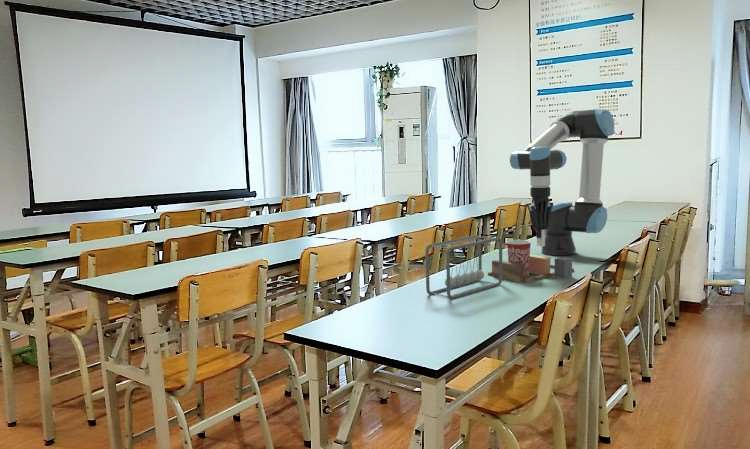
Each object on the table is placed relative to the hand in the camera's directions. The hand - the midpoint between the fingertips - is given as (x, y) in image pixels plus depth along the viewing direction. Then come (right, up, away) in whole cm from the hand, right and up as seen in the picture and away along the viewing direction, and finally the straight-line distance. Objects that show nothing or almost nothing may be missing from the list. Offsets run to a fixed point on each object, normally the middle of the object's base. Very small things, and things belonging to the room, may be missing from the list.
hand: (540, 245), depth 236 cm
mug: (-9, -12, -6) cm, 16 cm away
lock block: (+6, -12, -10) cm, 16 cm away
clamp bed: (-5, -11, -2) cm, 12 cm away
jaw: (-3, -11, -1) cm, 11 cm away
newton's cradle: (-34, -15, -25) cm, 45 cm away
